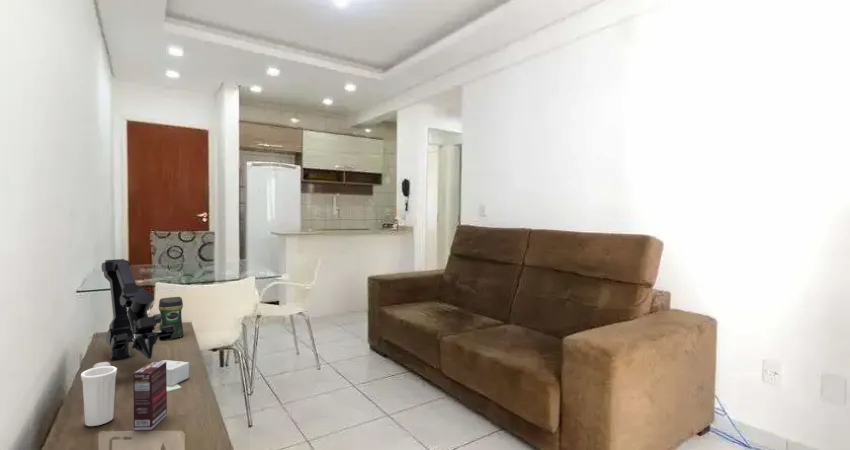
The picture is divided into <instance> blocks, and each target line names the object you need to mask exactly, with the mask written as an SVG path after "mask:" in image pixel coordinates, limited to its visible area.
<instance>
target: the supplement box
mask: <svg viewBox="0 0 850 450" xmlns="http://www.w3.org/2000/svg"><path fill="white" fill-rule="evenodd" d="M132 381H133V431H152V430H153V429H154V428H155V427H157V425H158V424H159V423H160V422H161V421H162V420H163V419H164V418H165V417H167V416H168V405H167V404H168V402H167V401H168V400H167V399H168V398H167V394H168V392H167V377H166V362H160V361H149V362H148V363H147V364H145V365H144V366H142V367H140V368H139V369H138V370H135V371H134V372H133V380H132Z"/></svg>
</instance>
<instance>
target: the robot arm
mask: <svg viewBox="0 0 850 450" xmlns="http://www.w3.org/2000/svg"><path fill="white" fill-rule="evenodd" d="M101 272H103V276H104V278H105V279H106V280H107V281H108V282H109V288H110V295H111V307H112V316H113V317H112V320H111V322H110V324H109V326H108V327H109V328H108V330H107V333H106V336H105V343H106V344H108V345H110V349H111V353H110V354H109V358H110V360H111V361H115V360H121V359H126V358H131V357H132V355H131V352H130V343H131V344H132V345H131V349H135V350H136V351H138V352H139V353H141V354H142V355H143V356H144V357H145V358H146V359H147V360H149V359H152V355H153V349H154V345H156V344H157V341H158V340H160V341H161V342H164V341H170V340H173V339H172V337H173V335H174V333H175V331H176V330H175V327H174V326H172V325H171V326H165V327H162V328H161V330H160V331H159V330H157V331H155V329H156V328H155V326H157V325H158V324H159V325H160V323H161V321H162V320H161V316H160V313H155V314H153V315H151V316H149V315H148V311H149V310H150V308H151V306H152V303H153V301H154V297H155V296H154V295H153V294H152V293H151V292H149V291H146V289H145V288H143V287H141V286H140V285H137V283H136V280H135V278H134V275H133V273H132V269H131V262H130V260H128V259H125V258H120V259H119V258H117V259H105V261H104V262H102V263H101ZM127 308H128V309H127Z"/></svg>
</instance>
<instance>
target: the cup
mask: <svg viewBox="0 0 850 450" xmlns="http://www.w3.org/2000/svg"><path fill="white" fill-rule="evenodd" d="M117 373H118V367H115V366H114V365H113V366H112V365H111V366H102V367H96V368H93V367H92V368H88V369H87V370H84V371H83V372H81V373H80V379H81V381H82V395H83V412H84V426H87V427H95V426H100V425H103V424H107V423H108V422H110V421H112V420H113V419H114V411H115V410H114V408H115V395H116V394H115V391H116V375H117Z"/></svg>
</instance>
